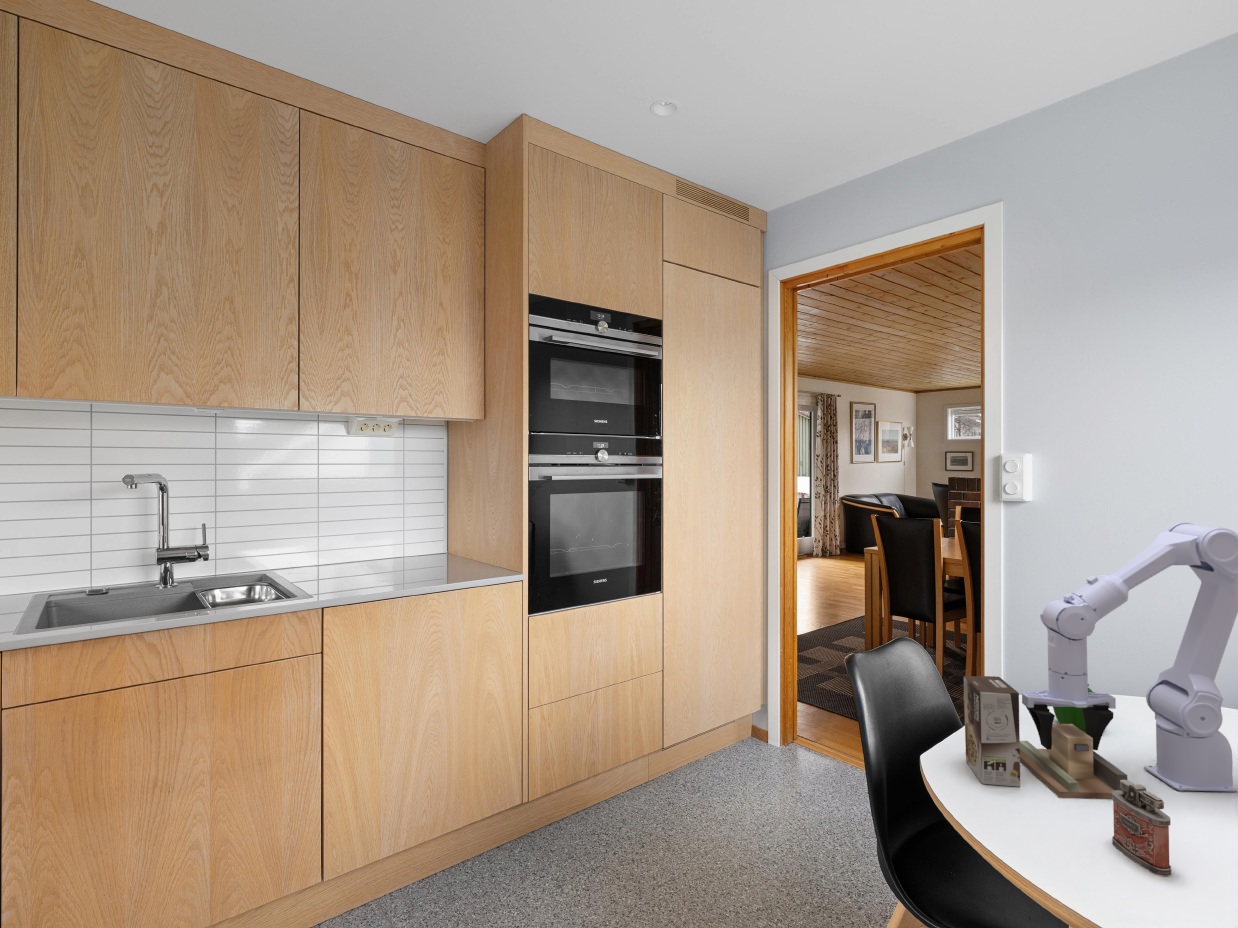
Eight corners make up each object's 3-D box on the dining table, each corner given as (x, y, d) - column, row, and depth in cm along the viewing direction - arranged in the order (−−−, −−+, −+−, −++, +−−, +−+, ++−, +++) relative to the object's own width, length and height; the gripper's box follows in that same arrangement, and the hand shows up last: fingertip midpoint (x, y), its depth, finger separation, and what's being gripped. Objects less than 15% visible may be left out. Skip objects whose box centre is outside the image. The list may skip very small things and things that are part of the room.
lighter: (1105, 841, 95) (1104, 773, 95) (1127, 840, 95) (1126, 772, 95) (1155, 876, 87) (1154, 802, 87) (1179, 875, 87) (1177, 800, 87)
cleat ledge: (1078, 754, 122) (1077, 733, 122) (1137, 799, 106) (1137, 775, 106) (1010, 753, 123) (1010, 732, 123) (1059, 797, 107) (1059, 773, 107)
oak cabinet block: (1072, 762, 117) (1071, 723, 117) (1095, 780, 110) (1095, 739, 110) (1049, 762, 117) (1048, 723, 117) (1070, 780, 111) (1069, 739, 111)
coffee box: (1022, 787, 111) (1020, 693, 111) (981, 784, 112) (979, 691, 112) (1002, 762, 120) (1000, 675, 120) (964, 760, 121) (962, 674, 121)
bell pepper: (1044, 718, 139) (1043, 671, 139) (1086, 719, 138) (1085, 672, 138) (1065, 735, 131) (1064, 685, 131) (1110, 736, 130) (1109, 686, 130)
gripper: (1036, 677, 111) (1037, 756, 111) (1127, 678, 110) (1128, 758, 110) (1015, 664, 118) (1016, 738, 118) (1100, 665, 117) (1101, 740, 117)
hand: (1069, 747), depth 115 cm, fingers open, 7 cm apart
